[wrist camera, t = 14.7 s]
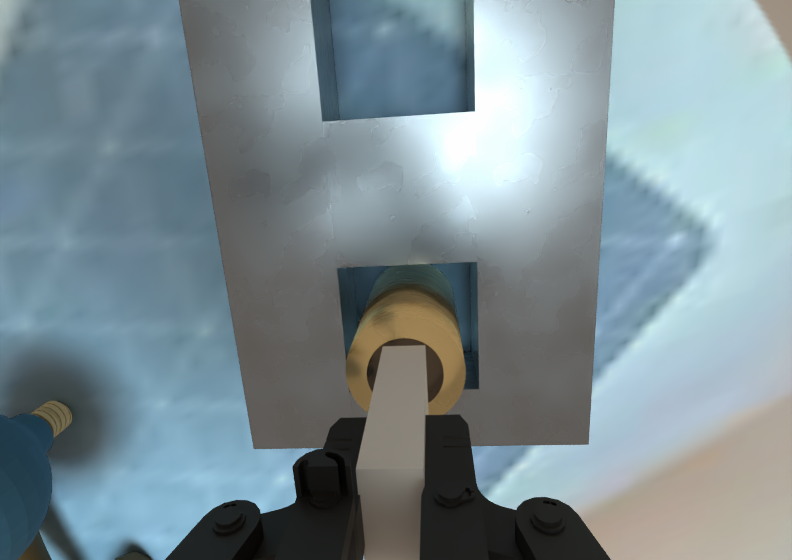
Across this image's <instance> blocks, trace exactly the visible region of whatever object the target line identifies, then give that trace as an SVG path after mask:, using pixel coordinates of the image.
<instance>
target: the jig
mask: <svg viewBox="0 0 792 560" xmlns="http://www.w3.org/2000/svg"><path fill="white" fill-rule="evenodd" d="M179 4H180V10H181V16H182V22H183V28H184V34H185V40H186V46H187V52H188V58H189V64H190V70H191V76H192V82H193V88H194V94H195V100H196V106H197V112H198V118H199V124H200V130H201V136H202V142H203V148H204V154H205V160H206V166H207V172H208V178H209V184H210V190H211V196H212V202H213V208H214V214H215V220H216V226H217V232H218V238H219V244H220V250H221V256H222V262H223V268H224V274H225V280H226V286H227V292H228V298H229V304H230V309H231V315H232V321H233V327H234V333H235V339H236V345H237V351H238V357H239V363H240V369H241V375H242V381H243V387H244V393H245V399H246V405H247V411H248V417H249V423H250V429H251V435H252V441H253V447H254V449H286V448H323V447H324V444H325V442H326V438H327V435H328V433H329V430H330V427H331V426H332V425H334V424H335V423H336V422H337V421H338V420H339V419H340V418H354V417H367V415H368V413H367V412H366V411H365V410H364V409H363V408H362V407H361V406H360V405H359V404H358V403H357V402H356V400H355V399H354V397H353V396H352V394H351V392H350V390H349V387H348V384H347V380H346V360H347V357H348V353H349V350H350V348H351V345H352V342H353V340H354V337H355V334H356V331H357V329H358V321H357V310H356V299H355V287H354V276H353V267H369V266H392V265H415V264H439V263H462V262H470V290H471V344H472V352H463V354H464V361H465V368H466V378H465V384H464V388H463V391H462V393H461V395H460V397H459V399H458V400H457V402H456V403H455V405H454V406H453V407H452V408H451V409H450V410H449V411H448V412H446V413H445V414H444V415H452V414H460V415H461V417H462V418H463V419H464V420H465V421H466V422H467V424H468V427H469V434H470V441H471V446H510V445H584V444H589V427H590V410H591V393H592V376H593V359H594V342H595V325H596V308H597V291H598V275H599V258H600V241H601V224H602V207H603V190H604V173H605V156H606V139H607V122H608V105H609V88H610V72H611V55H612V38H613V21H614V4H615V0H465V20H466V74H467V112H459V113H444V114H429V115H414V116H399V117H384V118H370V119H355V120H340V119H339V108H338V97H337V86H336V74H335V63H334V52H333V41H332V30H331V18H330V7H329V0H179Z"/></svg>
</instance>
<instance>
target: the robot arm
mask: <svg viewBox="0 0 792 560" xmlns="http://www.w3.org/2000/svg"><path fill="white" fill-rule="evenodd" d="M293 474H294V481H295V488H296V495H297V498H296V501H295V503H294V504H292V505H290V506H288V507H285V508H282V509H279V510H275V511H271V512H267V513H263V514H261V513H260V509H259V508H258V507H257V505H256V504H255V503H252V502H250V501H247V500H235V501H231V502H226V503H223V504H221V505H219V506H217V507H215V508H213V509H212V510H211V511H210V512H209V513H208V514H206V515H205V516H204V517H203V518H202V519H201V520H200V522H199V523H198V524H197V525H196V526H195V527H194V528H193V529H192V530H191V531H190V533H189V534H188V535H187V536H186V537H185V538H184V539H183V540H182V541H181V543H180V544H179V545H178V546H177V547H176V548H175V549H174V550H173V551H172V553H171V554H170V555H169V556H168V557H167V558H166V559H165V560H363V555H364V558H365V560H611V559H610V558H609V557H608V555H607V554H606V552H605V551H604V550H603V548H602V547H601V546H600V544H599V543H598V541H597V540H596V539H595V537H594V536H593V534H592V533H591V532H590V530H589V529H588V528H587V526H586V525H585V523H584V522H583V521H582V519H581V518H580V517H579V515H578V514H577V513H576V512H575V511H574V510H573V509H572V508H571V507H570V506H569V505H567V504H565V503H563V502H561V501H559V500H556V499H551V498H547V497H535V498H531V499H528V500H526V501H524V502H523V503H521V504H520V505H519V506H518V507H517V510H513V509H509V508H505V507H502V506H499V505H496V504H494V503H493V502H491V501H489V500H488V499H486V498H485V497H484V496H483V495H482V494H481V492H480V491H479V490H478V487H477V484H476V478H475V470H474V463H473V456H472V449H471V441H470V434H469V427H468V424H467V422H466V421H465V420H464V419H463V418H462V417H461V415H460V414H452V415H429V411H428V390H427V369H426V348H425V345H414V346H383V347H382V352H381V356H380V361H379V365H378V370H377V375H376V379H375V384H374V388H373V393H372V397H371V402H370V406H369V411H368V415H367V417H354V418H340V419H339V420H338V421H337V422H336V423H335V424H334V425H332V426H331V427H330V430H329V433H328V435H327V438H326V442H325V444H324V447H323V449H318V450H314V451H312V452H309V453H306V454H305V455H303V456H302V457H300V458H299V459H298V460H297V461H296V462H295V464H294V465H293Z"/></svg>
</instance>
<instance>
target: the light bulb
mask: <svg viewBox="0 0 792 560" xmlns="http://www.w3.org/2000/svg"><path fill="white" fill-rule="evenodd" d="M71 422H72V413H71V411H70V410H69V408H68V407H67V406H66V405H63V404H62V403H59V402H57V401H48V402H46V403H45V404H43V405H42V406H40V407H39V408H38V409H36V410H35V411H33V412H32V413H30V414H20V415H18V416H15V417H13V418H11V419H10V418H8V417H6V416H3V415H0V560H18V559H19V558H20V557H21V555H22V554H23V553H24V552H25V551H26V549H27V548H28V547H29V546H30V544H31V543H32V542H33V540H34V538H35V536H36V534H37V533H38V531H39V529H40V527H41V525H42V523H43V521H44V519H45V517H46V515H47V511H48V507H49V503H50V499H51V494H52V477H51V467H50V463H49V460H48V457H47V455H46V453H47V452H48V450H49V449H50V448H51V446H52V444H53V441H54V437H56V436H57V435H58V434H59V433H60V432H62V431H63V430H64V429H65V428H67V427H68V426H69V425H70V424H71Z"/></svg>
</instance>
